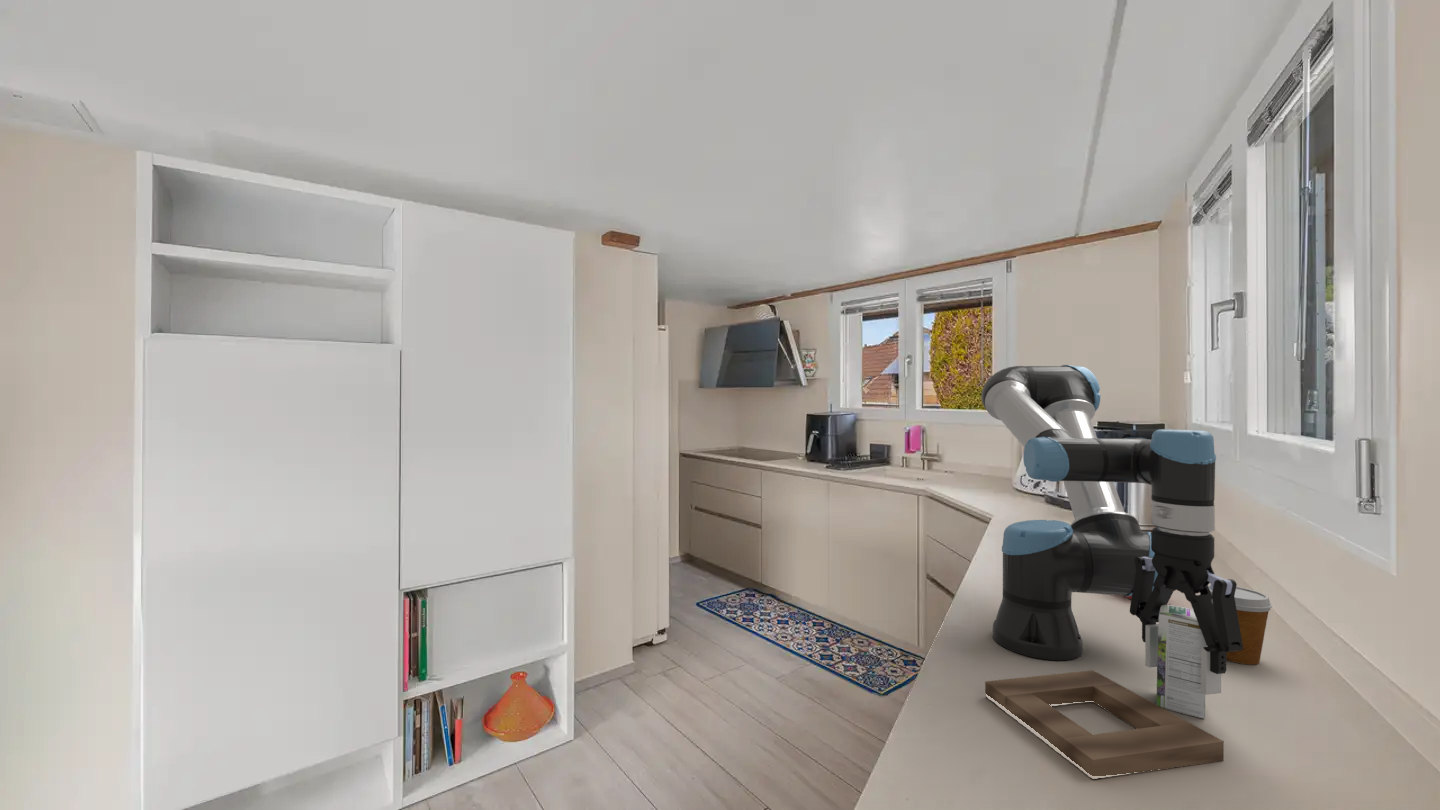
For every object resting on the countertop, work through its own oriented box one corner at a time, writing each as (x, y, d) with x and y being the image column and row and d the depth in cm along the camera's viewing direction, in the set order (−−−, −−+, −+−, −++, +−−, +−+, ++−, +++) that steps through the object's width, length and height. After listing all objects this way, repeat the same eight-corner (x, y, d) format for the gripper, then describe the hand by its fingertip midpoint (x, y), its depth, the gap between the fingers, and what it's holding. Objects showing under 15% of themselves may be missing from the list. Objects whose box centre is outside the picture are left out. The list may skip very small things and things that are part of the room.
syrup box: (1157, 692, 90) (1157, 602, 90) (1206, 705, 87) (1206, 611, 87) (1156, 707, 86) (1156, 612, 86) (1207, 721, 82) (1207, 621, 82)
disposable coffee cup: (1286, 671, 98) (1287, 602, 98) (1223, 666, 100) (1223, 598, 100) (1247, 648, 107) (1247, 585, 107) (1190, 644, 109) (1190, 582, 109)
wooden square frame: (985, 697, 89) (985, 681, 89) (1092, 685, 93) (1092, 670, 93) (1092, 780, 69) (1092, 759, 69) (1223, 760, 73) (1223, 741, 73)
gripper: (1102, 517, 96) (1102, 651, 96) (1236, 548, 75) (1236, 717, 75) (1139, 516, 97) (1138, 647, 97) (1280, 545, 77) (1279, 712, 77)
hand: (1181, 678), depth 86 cm, fingers open, 8 cm apart
